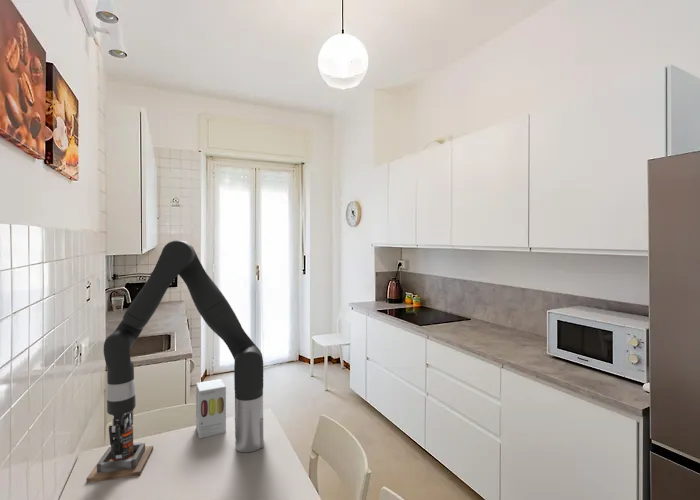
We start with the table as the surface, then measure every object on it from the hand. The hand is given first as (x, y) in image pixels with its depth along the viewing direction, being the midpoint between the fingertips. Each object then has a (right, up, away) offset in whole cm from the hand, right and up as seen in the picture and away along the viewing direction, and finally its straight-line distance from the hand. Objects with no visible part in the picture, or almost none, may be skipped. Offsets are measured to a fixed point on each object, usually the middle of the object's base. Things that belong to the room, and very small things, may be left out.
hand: (122, 448), depth 115 cm
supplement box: (+19, -5, +21) cm, 29 cm away
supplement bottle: (0, -3, 0) cm, 3 cm away
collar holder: (0, -5, 0) cm, 5 cm away
